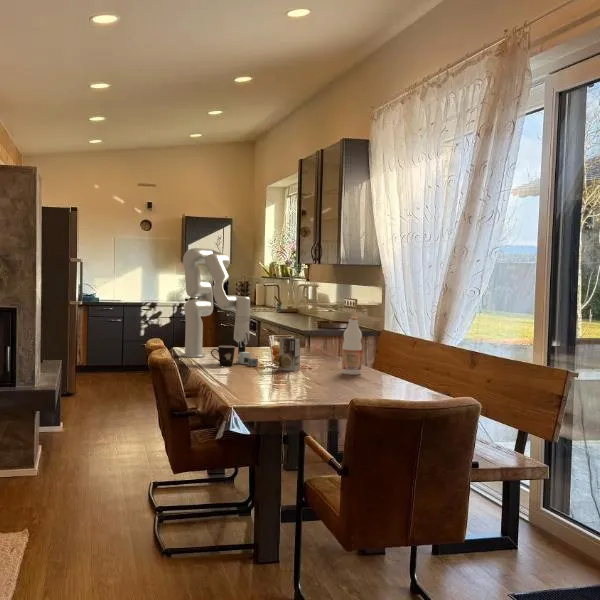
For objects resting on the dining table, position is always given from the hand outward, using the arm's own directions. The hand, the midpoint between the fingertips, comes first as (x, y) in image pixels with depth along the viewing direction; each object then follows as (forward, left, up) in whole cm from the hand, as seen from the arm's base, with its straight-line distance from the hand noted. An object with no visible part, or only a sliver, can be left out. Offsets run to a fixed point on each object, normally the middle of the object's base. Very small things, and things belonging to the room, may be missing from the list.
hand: (241, 354), depth 382 cm
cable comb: (0, 0, -5) cm, 5 cm away
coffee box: (+30, +12, -5) cm, 33 cm away
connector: (+14, 0, -5) cm, 15 cm away
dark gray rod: (+7, 0, -5) cm, 8 cm away
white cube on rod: (+4, 0, -5) cm, 6 cm away
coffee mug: (+8, -14, -5) cm, 17 cm away
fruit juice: (+50, +36, -5) cm, 62 cm away
